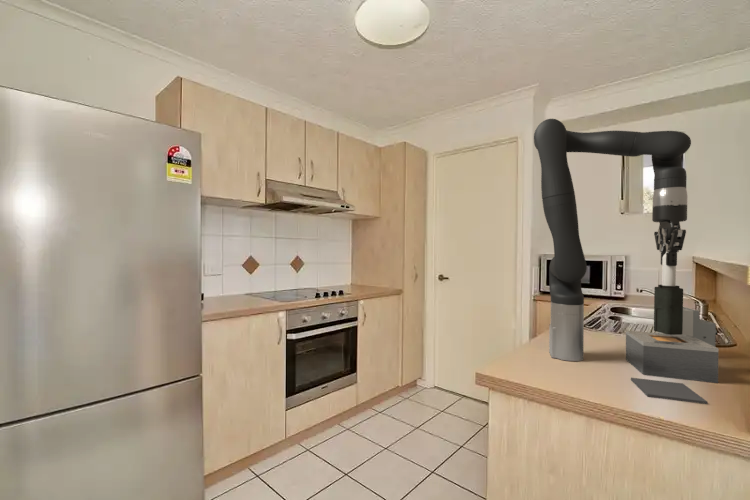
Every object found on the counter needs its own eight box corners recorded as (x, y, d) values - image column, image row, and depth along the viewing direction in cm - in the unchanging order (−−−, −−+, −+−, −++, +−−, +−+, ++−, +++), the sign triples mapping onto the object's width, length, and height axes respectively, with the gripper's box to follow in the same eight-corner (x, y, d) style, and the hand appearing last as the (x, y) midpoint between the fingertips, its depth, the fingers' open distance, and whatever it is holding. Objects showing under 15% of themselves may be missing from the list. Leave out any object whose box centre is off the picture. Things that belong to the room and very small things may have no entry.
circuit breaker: (721, 359, 108) (722, 311, 108) (669, 356, 111) (669, 309, 110) (703, 352, 115) (704, 307, 115) (655, 349, 118) (655, 306, 118)
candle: (651, 330, 100) (653, 244, 100) (667, 330, 100) (669, 245, 100) (667, 334, 95) (669, 244, 95) (684, 334, 95) (686, 244, 95)
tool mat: (647, 396, 80) (647, 394, 80) (630, 379, 90) (630, 377, 90) (707, 404, 76) (707, 401, 76) (682, 385, 86) (682, 383, 86)
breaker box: (643, 374, 94) (643, 342, 94) (625, 359, 107) (625, 330, 107) (718, 383, 88) (718, 348, 88) (690, 365, 101) (690, 335, 101)
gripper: (643, 208, 105) (643, 264, 105) (664, 202, 92) (663, 266, 92) (674, 207, 103) (673, 265, 103) (699, 201, 89) (698, 267, 90)
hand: (668, 265), depth 97 cm, fingers closed on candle, 3 cm apart
